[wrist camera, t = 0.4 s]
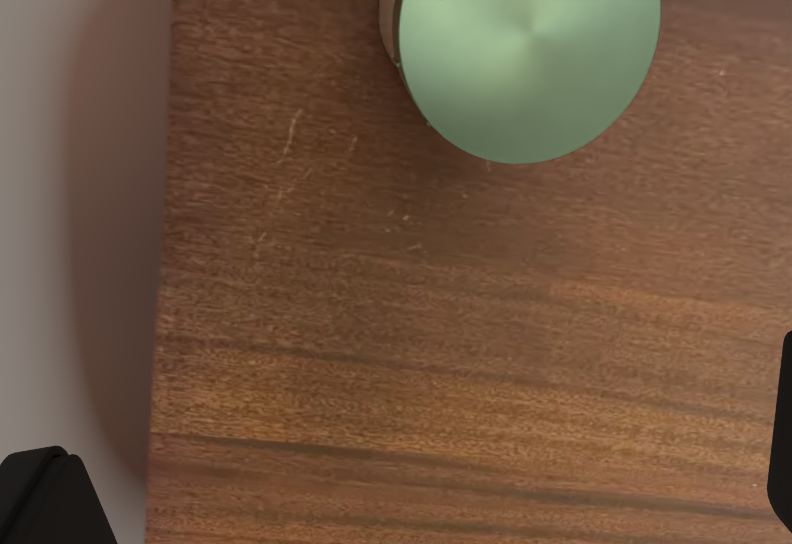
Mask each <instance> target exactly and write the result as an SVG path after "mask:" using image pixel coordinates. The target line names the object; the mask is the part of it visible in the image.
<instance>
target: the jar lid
mask: <svg viewBox="0 0 792 544" xmlns="http://www.w3.org/2000/svg"><path fill="white" fill-rule="evenodd" d="M660 22H661V0H395V3H394V8H393V19H392V43H393V49H394V55H395V58H392V60H393V63H394V64H395V65H396V66H397V67H398V71H399V74H400V77H401V79H402V81H403V83H404V86H405V88H406V90H407V92H408V93H409V95H410V97H411V98H412V100H413V102H414V103H415V105H416V106H417V108H418V109H419V110H420V112H421V113H422V115H421V117H422V118H423V120H424V121H425V123H426V124H427V125H428V126H429V127H430V126H432V127H433V128H434V129H435V130H436V131H437V132H438V133H439V134H441V135H442V136H443V137H444V138H445V139H446V140H448V141H449V142H451V143H452V144H453V145H455V146H456V147H458V148H460V149H462V150H463V151H465V152H467V153H469V154H471V155H474V156H477V157H479V158H481V159H485V160H489V161H494V162H499V163H507V164H530V163H537V162H543V161H548V160H551V159H554V158H558V157H561V156H564V155H566V154H568V153H570V152H573V151H575V150H577V149H579V148H581V147H582V146H584V145H586V144H587V143H589V142H591V141H592V140H594V139H595V138H596V137H598V136H599V135H600V134H601V133H603V132H604V131H605V130H606V129H608V128H609V127H610V126H611V125H612V124H613V123H614V122H615V121H616V120H617V119H618V118H619V117H620V116H621V114H622V113H623V112H624V111H625V109H626V108H627V107H628V106H629V104H630V103H631V102H632V100H633V99H634V97H635V95H636V94H637V92H638V91H639V89H640V88H641V86H642V84H643V81H644V79H645V77H646V75H647V73H648V71H649V68H650V66H651V63H652V60H653V57H654V55H655V50H656V46H657V42H658V38H659V31H660Z"/></svg>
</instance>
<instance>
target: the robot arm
mask: <svg viewBox="0 0 792 544" xmlns="http://www.w3.org/2000/svg"><path fill="white" fill-rule="evenodd" d="M767 493H768V498H769V501H770V504H771V506H772V508H773V510H774V512H775V513H776V515H777V516H778V517H779V519H780V520H781V521H782V522H783V523H784V525H785V526H786V527H787V528H788V529H789V531H790V532H791V533H792V331H790V332H788V333H787V334H786V336H785V338H784V342H783V351H782V359H781V368H780V377H779V386H778V395H777V403H776V412H775V421H774V430H773V439H772V448H771V456H770V465H769V474H768V483H767ZM0 544H118V543H117V541H116V539H115V536H114V534H113V532H112V529H111V527H110V525H109V522H108V520H107V518H106V515H105V513H104V511H103V508H102V506H101V504H100V501H99V499H98V496H97V494H96V492H95V489H94V487H93V485H92V482H91V480H90V478H89V475H88V473H87V471H86V468H85V466H84V464H83V462H82V460H81V458H80V457H79V456H77V455H74V454H71V455H68V453H67V452H66V450H64V449H63V448H62V447H60V446H51V447H45V448H39V449H34V450H28V451H22V452H16V453H13V454H10V455H8V456H7V457H6V458H5V459H4V460H3V462H2V463H1V465H0Z"/></svg>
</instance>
